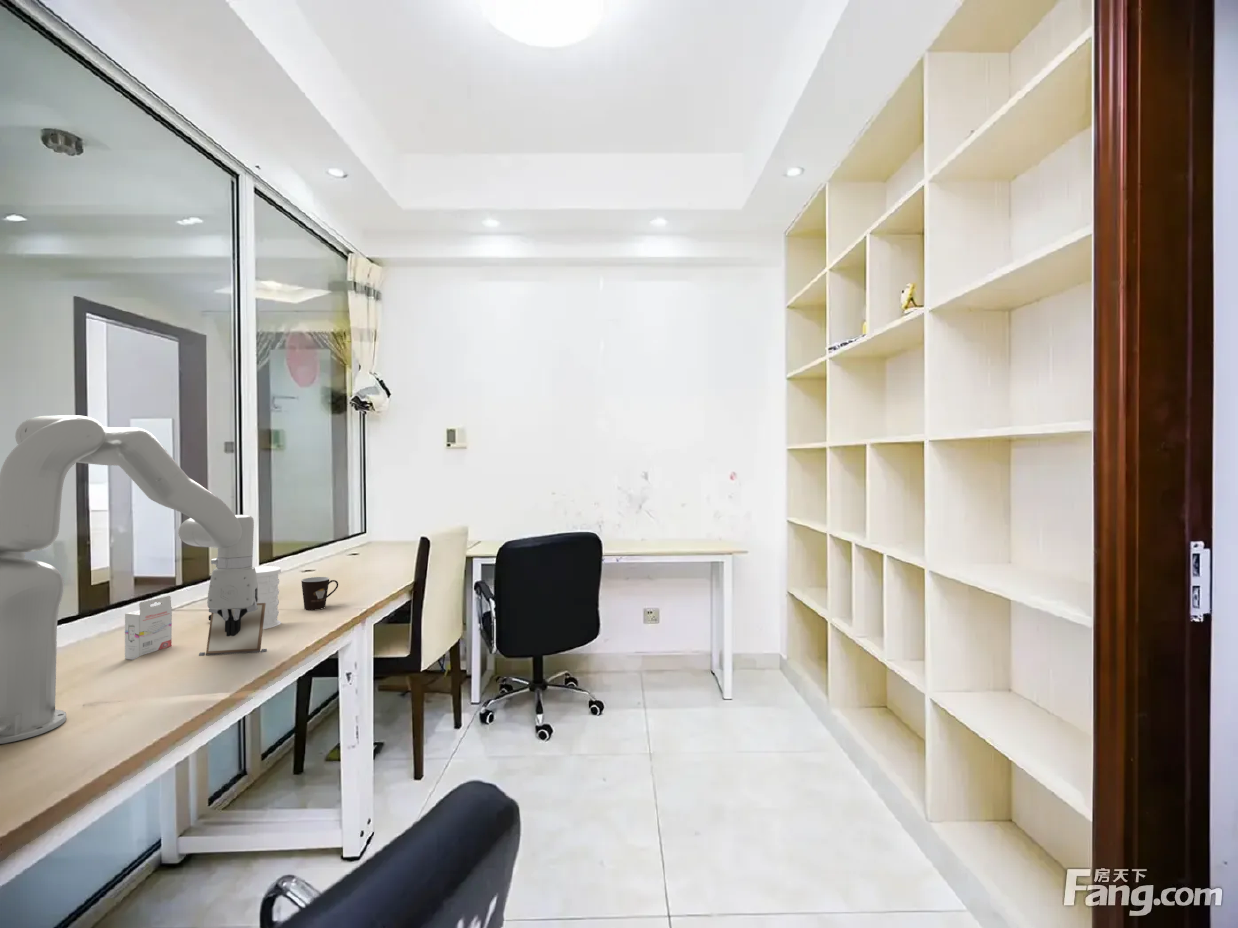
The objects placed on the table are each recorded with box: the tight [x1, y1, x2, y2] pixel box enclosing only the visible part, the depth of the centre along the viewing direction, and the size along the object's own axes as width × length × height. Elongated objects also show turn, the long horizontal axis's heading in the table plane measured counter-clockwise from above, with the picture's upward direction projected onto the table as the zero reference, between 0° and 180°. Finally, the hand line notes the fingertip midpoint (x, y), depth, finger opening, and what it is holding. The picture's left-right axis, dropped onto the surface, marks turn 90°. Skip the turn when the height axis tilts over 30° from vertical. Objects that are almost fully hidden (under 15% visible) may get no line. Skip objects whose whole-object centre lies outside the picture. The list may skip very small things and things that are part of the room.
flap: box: [205, 603, 266, 656], centre depth 147 cm, size 13×12×1 cm
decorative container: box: [254, 565, 282, 630], centre depth 171 cm, size 12×12×18 cm
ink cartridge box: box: [124, 595, 173, 661], centre depth 147 cm, size 9×5×15 cm, turn 168°
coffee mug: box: [300, 576, 339, 611], centre depth 197 cm, size 12×9×10 cm
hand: (232, 634), depth 145 cm, fingers closed
